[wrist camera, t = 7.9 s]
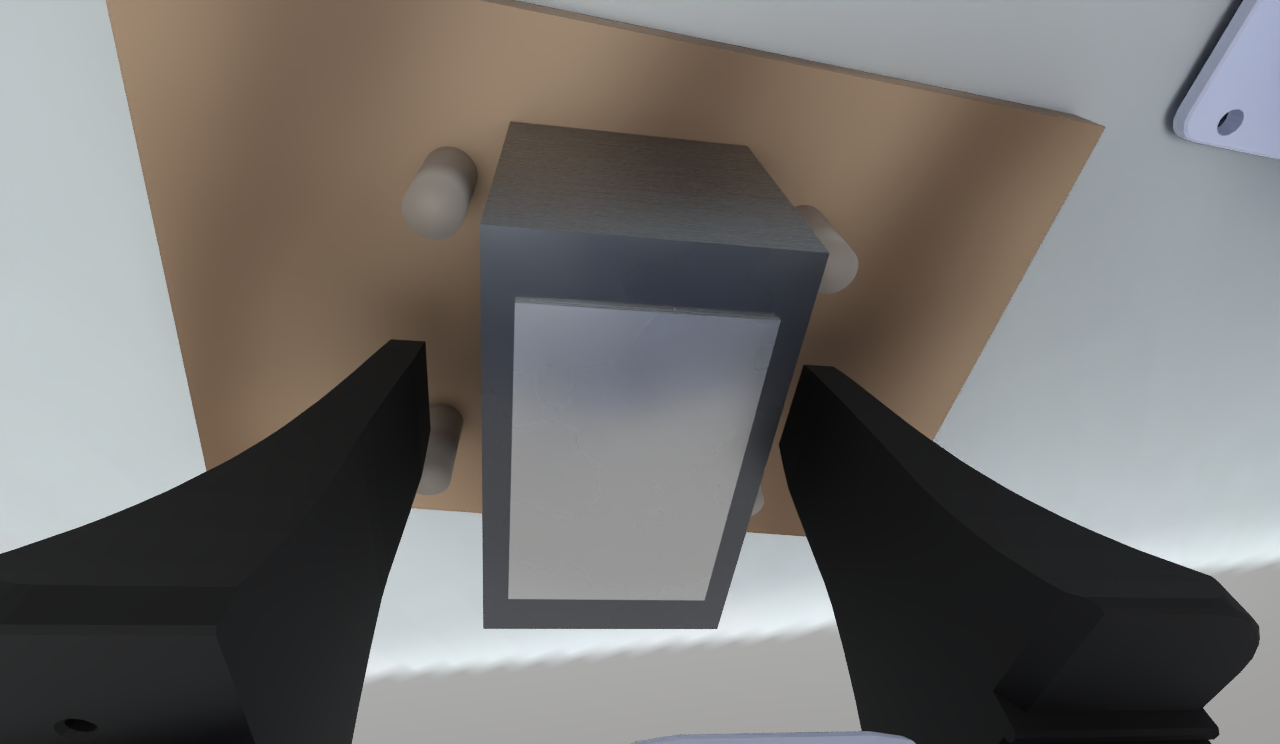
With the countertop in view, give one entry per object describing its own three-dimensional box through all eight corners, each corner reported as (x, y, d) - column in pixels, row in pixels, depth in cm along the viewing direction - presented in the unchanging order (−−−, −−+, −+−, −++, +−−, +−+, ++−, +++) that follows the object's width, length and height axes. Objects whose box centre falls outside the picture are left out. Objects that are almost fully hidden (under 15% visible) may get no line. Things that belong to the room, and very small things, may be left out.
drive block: (747, 146, 13) (832, 256, 9) (682, 459, 17) (717, 633, 13) (510, 120, 12) (478, 227, 8) (505, 452, 17) (482, 633, 13)
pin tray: (1074, 115, 14) (1180, 157, 12) (864, 516, 21) (904, 598, 18) (125, -79, 11) (-4, -78, 9) (228, 466, 17) (172, 557, 15)
